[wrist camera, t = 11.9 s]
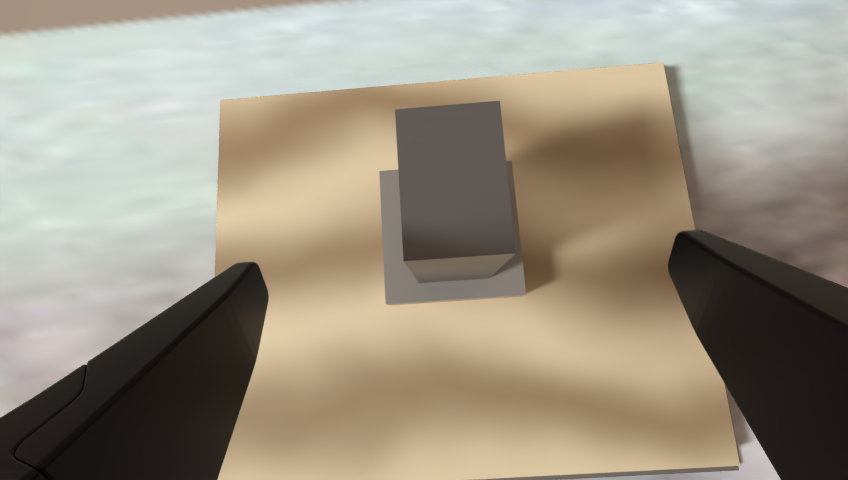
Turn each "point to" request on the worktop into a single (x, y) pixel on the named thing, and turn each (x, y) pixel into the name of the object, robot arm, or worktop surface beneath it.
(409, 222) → the grey stepped block
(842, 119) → the worktop surface
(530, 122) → the birch board
